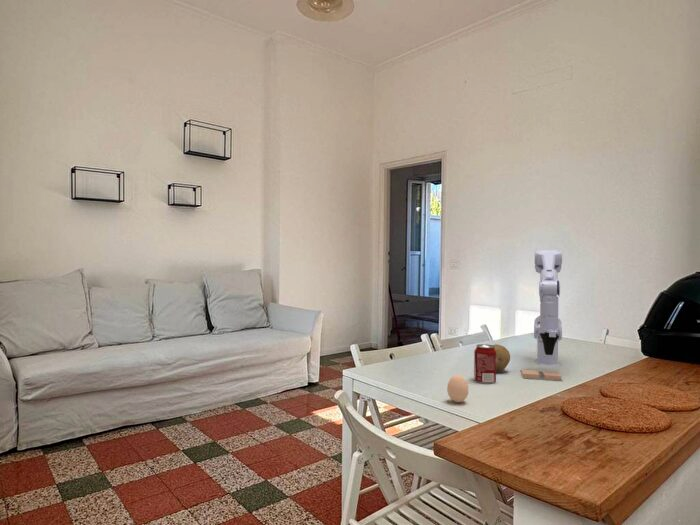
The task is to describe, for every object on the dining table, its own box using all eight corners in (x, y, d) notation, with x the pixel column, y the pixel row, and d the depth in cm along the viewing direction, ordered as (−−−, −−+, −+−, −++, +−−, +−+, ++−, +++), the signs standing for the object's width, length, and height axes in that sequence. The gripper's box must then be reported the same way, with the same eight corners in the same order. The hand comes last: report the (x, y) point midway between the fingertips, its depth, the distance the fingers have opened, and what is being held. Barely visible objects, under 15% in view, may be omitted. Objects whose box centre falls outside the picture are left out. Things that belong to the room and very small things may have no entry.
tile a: (521, 369, 157) (523, 373, 151) (537, 370, 156) (539, 374, 150) (521, 373, 157) (523, 378, 151) (537, 374, 156) (539, 379, 150)
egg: (462, 406, 123) (462, 378, 123) (443, 402, 127) (443, 375, 127) (472, 401, 128) (472, 374, 128) (453, 397, 131) (453, 371, 131)
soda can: (497, 386, 144) (497, 348, 144) (474, 384, 145) (475, 347, 145) (494, 380, 150) (494, 344, 150) (473, 379, 152) (473, 343, 152)
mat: (519, 371, 162) (519, 370, 162) (556, 373, 159) (556, 372, 159) (523, 380, 151) (523, 378, 151) (563, 382, 148) (563, 381, 148)
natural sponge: (503, 377, 154) (503, 348, 154) (478, 372, 160) (478, 344, 160) (514, 372, 161) (514, 344, 161) (490, 368, 167) (490, 341, 167)
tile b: (541, 370, 156) (544, 375, 150) (557, 371, 154) (561, 376, 148) (541, 375, 156) (544, 379, 150) (557, 376, 154) (561, 380, 148)
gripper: (533, 312, 165) (533, 349, 165) (539, 317, 151) (539, 358, 151) (554, 312, 163) (554, 350, 163) (563, 318, 149) (562, 359, 149)
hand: (548, 354), depth 157 cm, fingers closed
